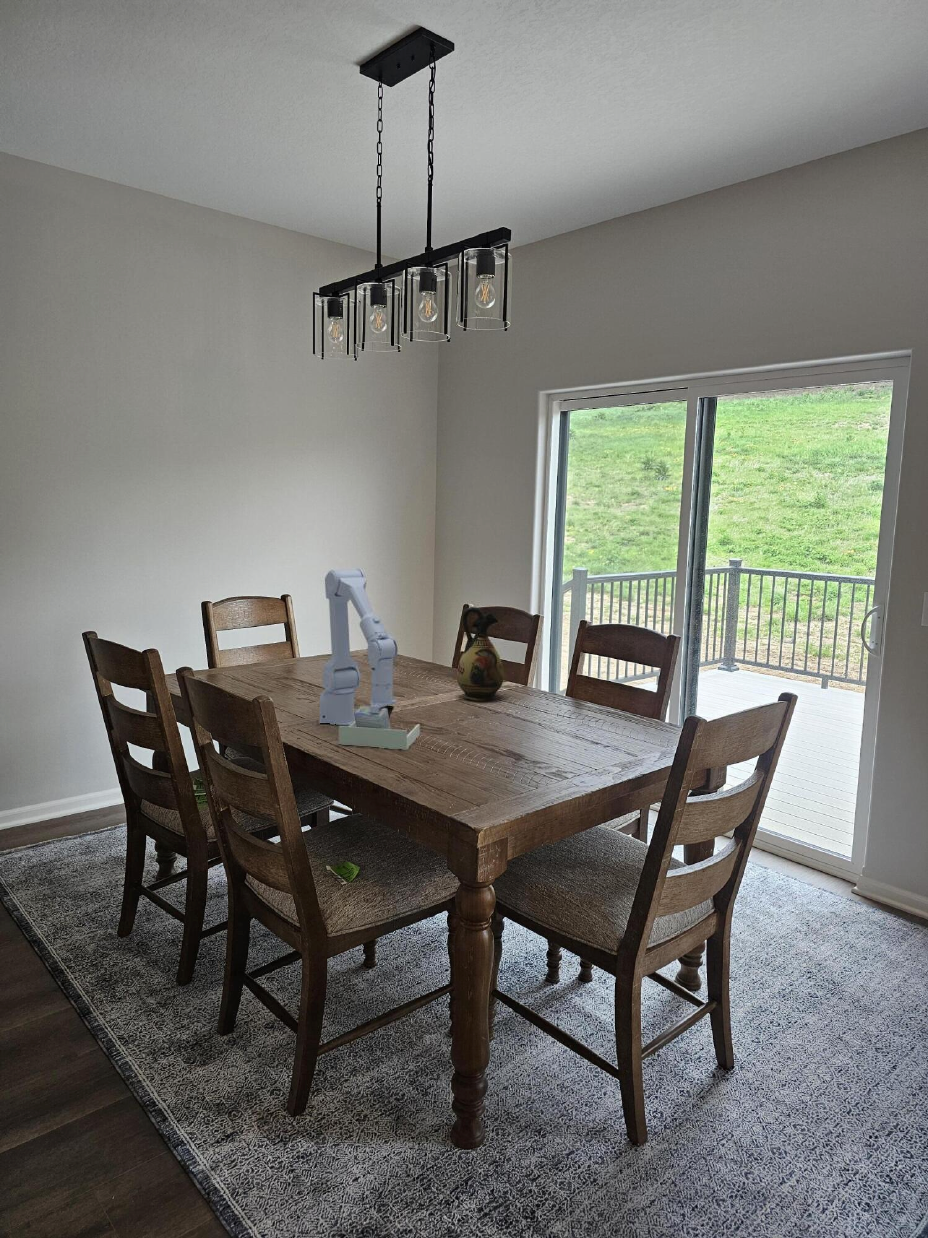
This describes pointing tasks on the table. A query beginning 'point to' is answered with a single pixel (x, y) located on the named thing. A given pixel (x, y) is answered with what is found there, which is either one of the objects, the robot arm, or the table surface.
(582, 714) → the table surface
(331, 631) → the robot arm
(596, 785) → the table surface
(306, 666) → the table surface
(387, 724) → the medicine box
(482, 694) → the ceramic jug
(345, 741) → the box
